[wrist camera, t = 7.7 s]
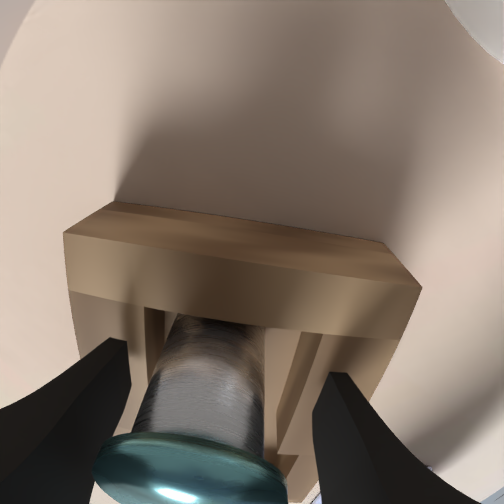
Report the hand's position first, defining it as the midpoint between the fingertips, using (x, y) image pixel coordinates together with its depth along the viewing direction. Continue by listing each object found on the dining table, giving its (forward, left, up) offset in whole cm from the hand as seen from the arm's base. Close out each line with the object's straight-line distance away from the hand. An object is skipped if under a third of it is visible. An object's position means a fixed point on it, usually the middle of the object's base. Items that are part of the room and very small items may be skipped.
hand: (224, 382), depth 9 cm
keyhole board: (0, +4, -4) cm, 6 cm away
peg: (0, 0, -3) cm, 3 cm away
